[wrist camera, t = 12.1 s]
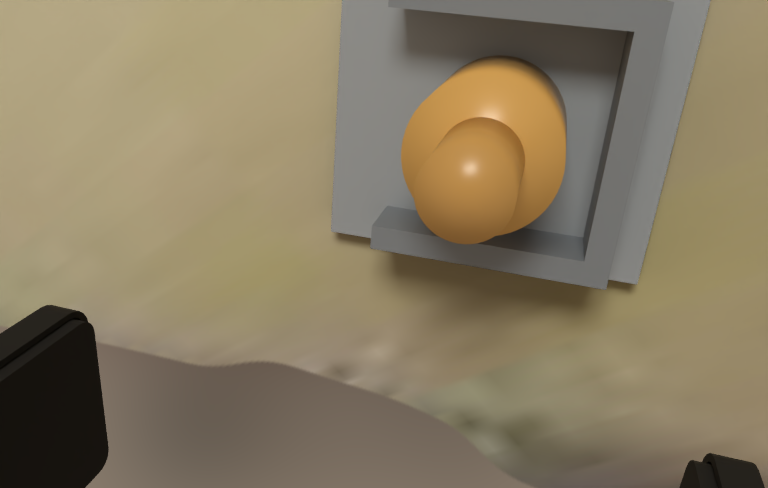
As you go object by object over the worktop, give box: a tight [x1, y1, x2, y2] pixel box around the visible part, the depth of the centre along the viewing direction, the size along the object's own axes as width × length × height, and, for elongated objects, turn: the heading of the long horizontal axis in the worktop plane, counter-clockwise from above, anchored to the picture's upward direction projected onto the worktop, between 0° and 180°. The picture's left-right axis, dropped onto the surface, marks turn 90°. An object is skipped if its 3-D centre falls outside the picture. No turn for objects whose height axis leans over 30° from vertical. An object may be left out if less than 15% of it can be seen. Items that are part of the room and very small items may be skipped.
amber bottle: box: [401, 55, 567, 244], centre depth 27 cm, size 6×6×11 cm
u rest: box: [331, 0, 711, 290], centre depth 31 cm, size 16×14×4 cm
